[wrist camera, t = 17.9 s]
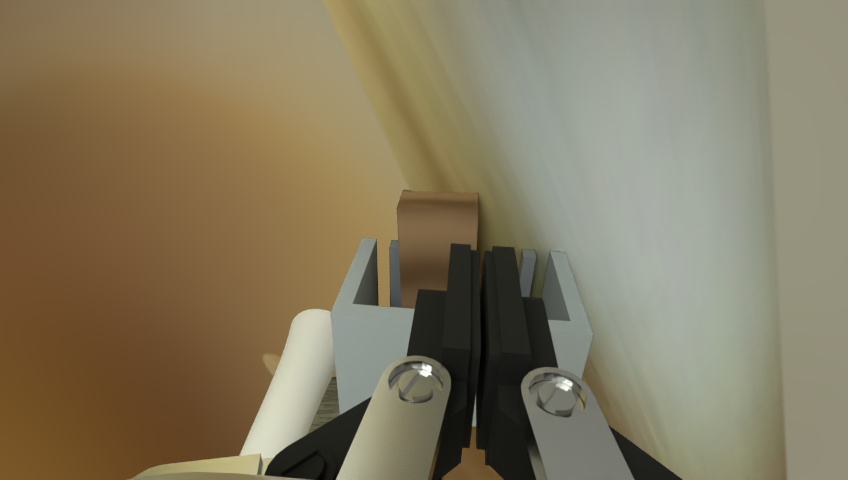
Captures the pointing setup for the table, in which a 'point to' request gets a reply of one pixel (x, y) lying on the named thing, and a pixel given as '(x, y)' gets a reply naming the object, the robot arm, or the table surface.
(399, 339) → the grey long box
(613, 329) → the table surface
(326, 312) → the cosmetic bottle
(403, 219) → the brown rounded block
